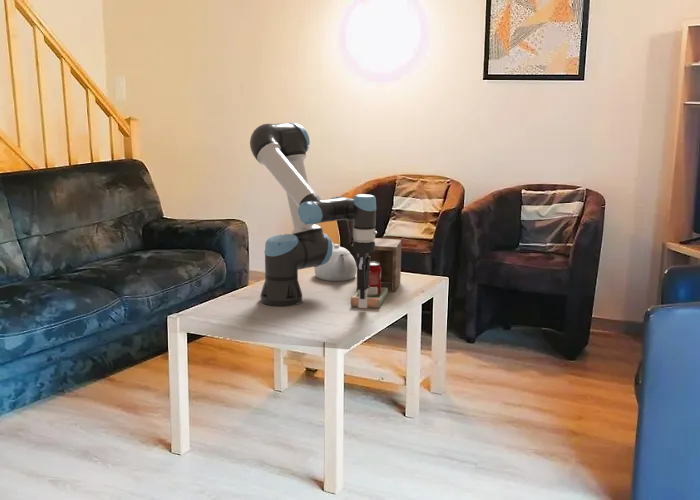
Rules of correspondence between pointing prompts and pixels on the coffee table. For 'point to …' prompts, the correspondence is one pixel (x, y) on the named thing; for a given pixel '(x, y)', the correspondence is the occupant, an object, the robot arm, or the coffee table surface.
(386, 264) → the open wooden crate
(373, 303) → the tray
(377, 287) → the soda can
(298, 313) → the coffee table surface
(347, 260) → the teapot
